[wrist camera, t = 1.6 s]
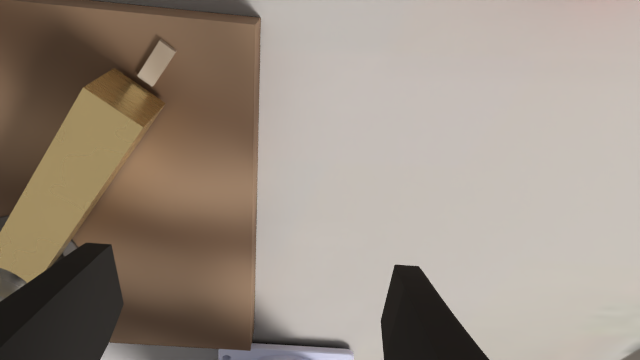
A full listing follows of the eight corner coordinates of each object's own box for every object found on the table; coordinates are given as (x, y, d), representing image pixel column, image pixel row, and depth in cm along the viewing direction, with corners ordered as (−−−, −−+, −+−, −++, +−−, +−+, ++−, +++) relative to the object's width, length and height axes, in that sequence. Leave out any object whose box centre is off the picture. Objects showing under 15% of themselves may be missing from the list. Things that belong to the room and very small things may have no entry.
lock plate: (254, 328, 24) (249, 353, 22) (-108, 305, 23) (-138, 330, 21) (260, 17, 15) (254, 26, 14) (-323, -42, 14) (-397, -40, 13)
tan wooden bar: (50, 293, 20) (21, 331, 18) (-19, 261, 19) (-57, 297, 17) (179, 113, 15) (159, 138, 13) (98, 56, 14) (63, 74, 12)
